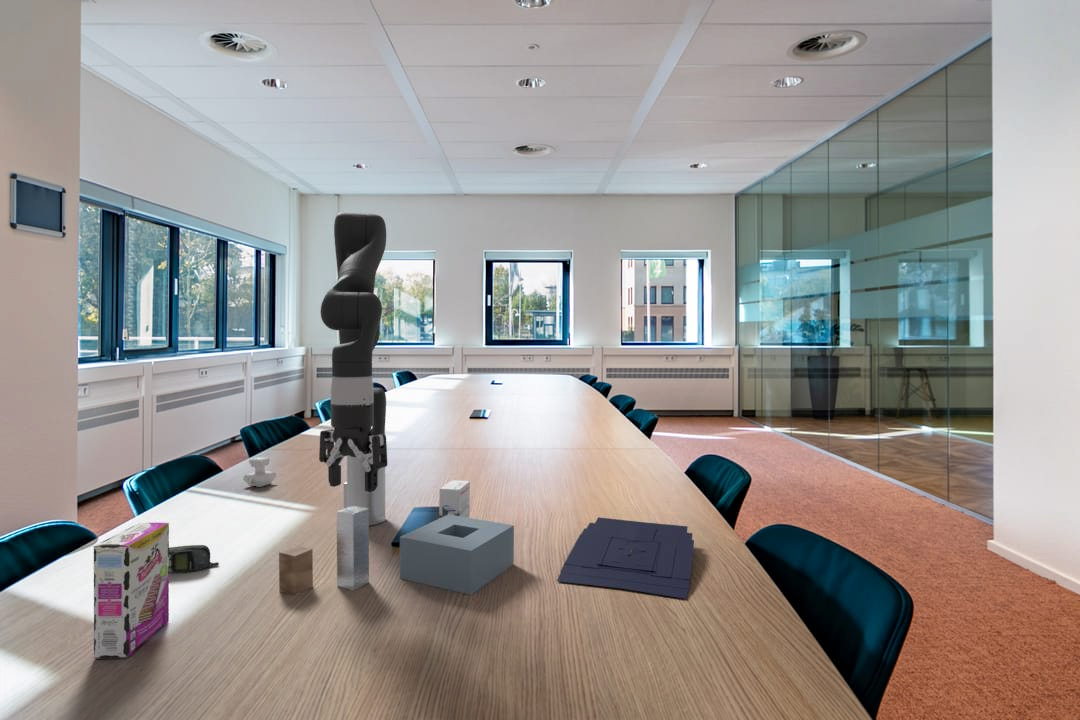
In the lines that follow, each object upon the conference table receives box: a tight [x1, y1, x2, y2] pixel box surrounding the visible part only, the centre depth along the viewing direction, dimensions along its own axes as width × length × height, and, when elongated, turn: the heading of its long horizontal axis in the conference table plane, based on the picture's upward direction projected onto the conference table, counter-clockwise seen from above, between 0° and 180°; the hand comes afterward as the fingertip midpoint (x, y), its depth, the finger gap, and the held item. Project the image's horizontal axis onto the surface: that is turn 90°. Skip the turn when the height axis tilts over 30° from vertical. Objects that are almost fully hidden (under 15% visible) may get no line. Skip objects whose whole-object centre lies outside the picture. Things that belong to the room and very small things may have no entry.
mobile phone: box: [169, 544, 220, 575], centre depth 115 cm, size 5×3×15 cm
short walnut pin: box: [278, 545, 314, 596], centre depth 108 cm, size 4×4×7 cm
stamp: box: [243, 456, 277, 488], centre depth 181 cm, size 9×7×8 cm
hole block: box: [399, 515, 515, 596], centre depth 116 cm, size 16×16×8 cm
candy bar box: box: [93, 522, 170, 660], centre depth 89 cm, size 11×5×16 cm, turn 5°
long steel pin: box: [336, 506, 370, 591], centre depth 110 cm, size 4×4×14 cm
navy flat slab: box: [556, 516, 695, 599], centre depth 122 cm, size 24×30×4 cm
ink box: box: [438, 479, 471, 519], centre depth 138 cm, size 9×5×12 cm, turn 168°
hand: (352, 488), depth 109 cm, fingers open, 8 cm apart
